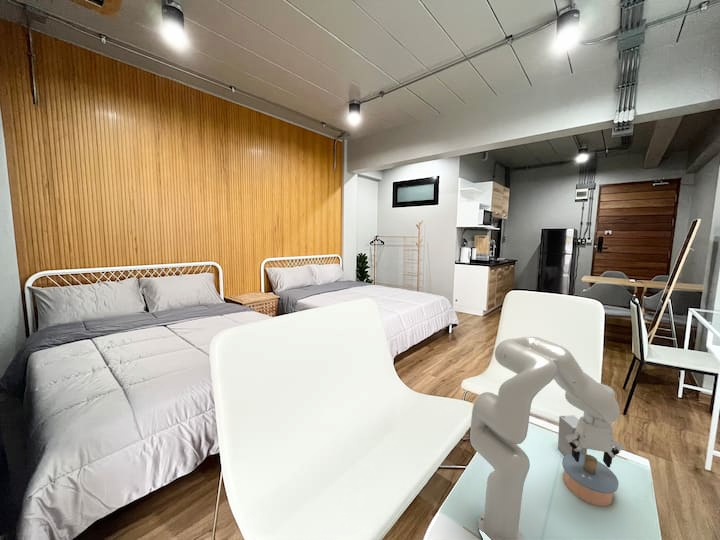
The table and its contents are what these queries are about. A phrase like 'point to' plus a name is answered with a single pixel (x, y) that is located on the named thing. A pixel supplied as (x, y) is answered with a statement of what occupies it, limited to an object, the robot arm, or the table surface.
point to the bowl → (587, 492)
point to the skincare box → (566, 428)
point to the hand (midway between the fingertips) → (590, 461)
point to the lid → (590, 473)
